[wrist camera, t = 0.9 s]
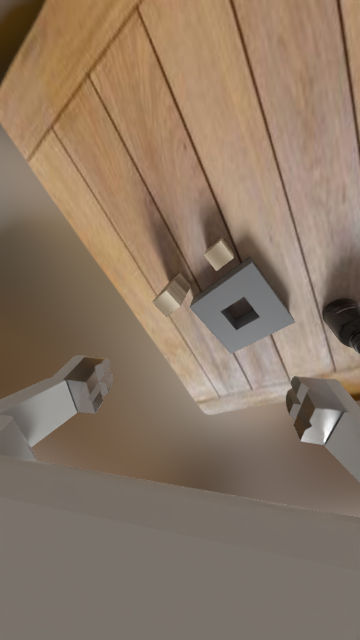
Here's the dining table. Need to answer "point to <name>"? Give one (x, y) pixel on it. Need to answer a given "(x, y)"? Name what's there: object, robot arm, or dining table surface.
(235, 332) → the socket block
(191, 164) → the dining table surface
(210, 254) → the short pin
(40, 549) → the robot arm
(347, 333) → the supplement bottle
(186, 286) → the tall pin
